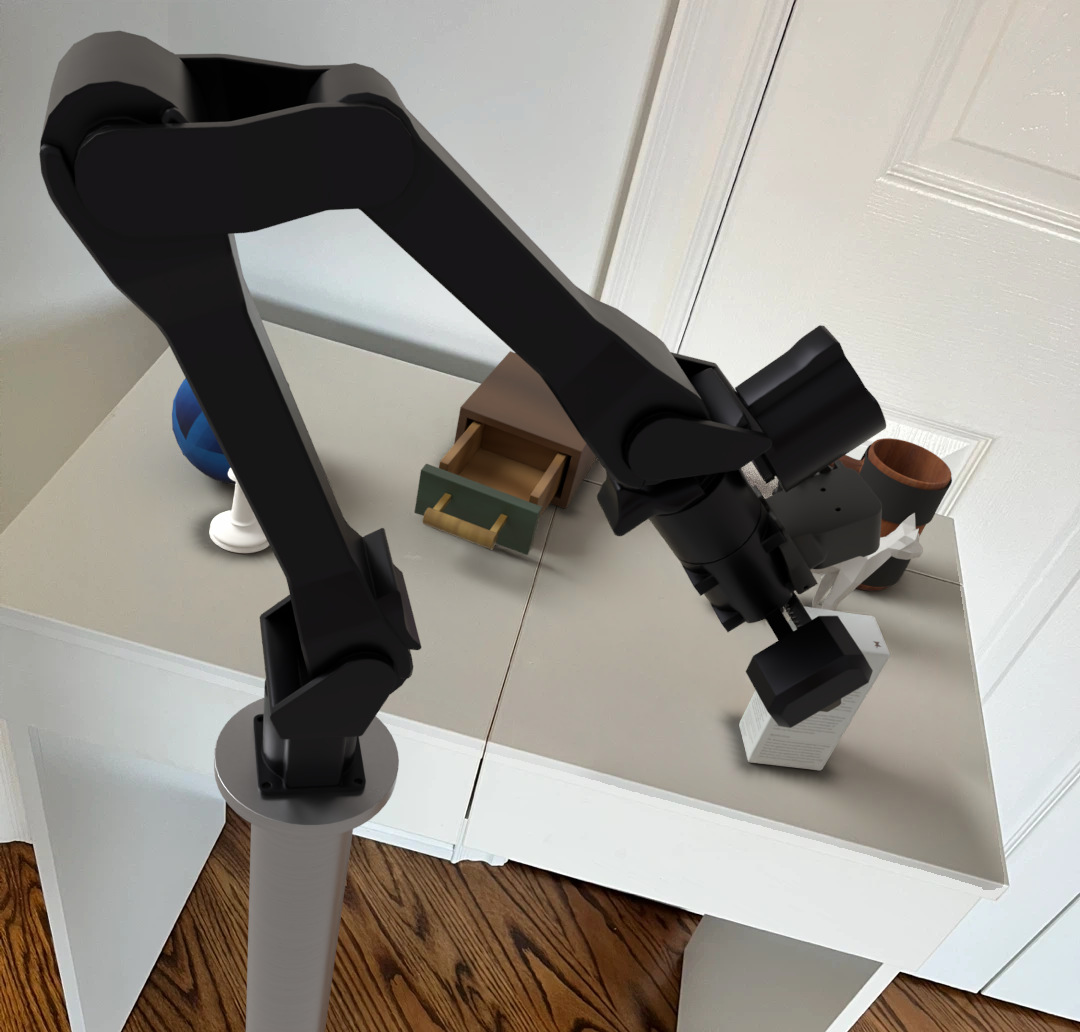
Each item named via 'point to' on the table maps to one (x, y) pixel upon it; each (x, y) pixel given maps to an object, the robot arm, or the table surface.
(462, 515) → the drawer
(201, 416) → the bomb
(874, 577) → the mug
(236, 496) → the chess piece
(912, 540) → the cat figurine
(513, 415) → the cabinet
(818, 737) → the cosmetic box
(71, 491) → the table surface
